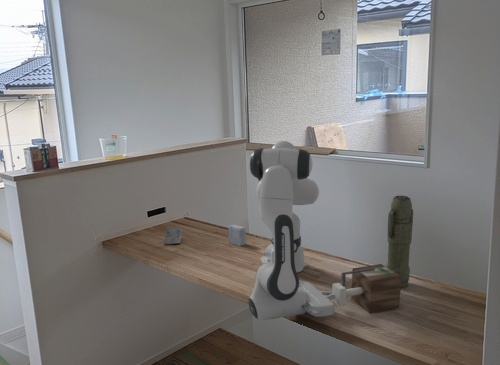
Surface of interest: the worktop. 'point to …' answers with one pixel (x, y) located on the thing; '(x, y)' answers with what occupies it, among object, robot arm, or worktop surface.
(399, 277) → the block
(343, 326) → the worktop surface
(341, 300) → the peg
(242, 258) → the worktop surface
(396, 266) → the olive green tall piece
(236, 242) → the medicine box
